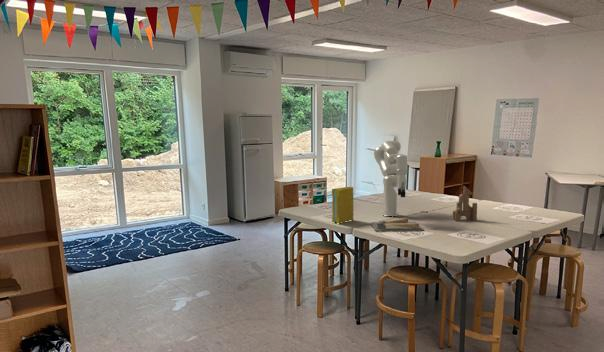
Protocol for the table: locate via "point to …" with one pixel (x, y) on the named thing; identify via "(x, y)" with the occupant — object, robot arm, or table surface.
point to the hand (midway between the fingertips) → (401, 196)
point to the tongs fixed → (399, 226)
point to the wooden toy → (465, 207)
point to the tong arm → (393, 221)
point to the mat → (395, 229)
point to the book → (342, 204)
